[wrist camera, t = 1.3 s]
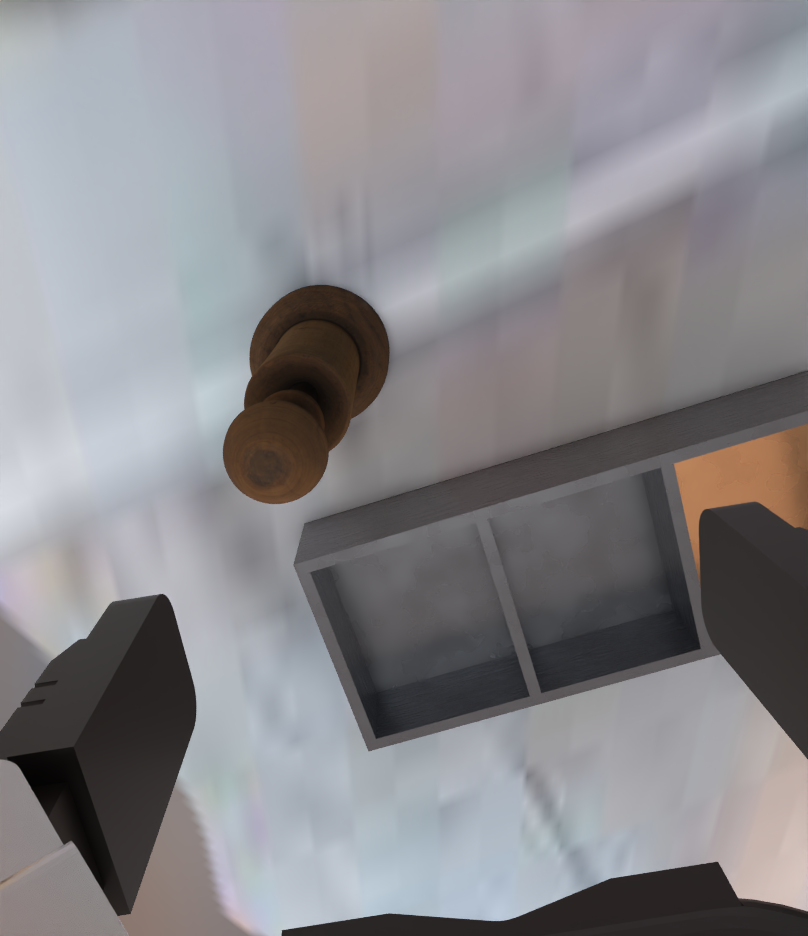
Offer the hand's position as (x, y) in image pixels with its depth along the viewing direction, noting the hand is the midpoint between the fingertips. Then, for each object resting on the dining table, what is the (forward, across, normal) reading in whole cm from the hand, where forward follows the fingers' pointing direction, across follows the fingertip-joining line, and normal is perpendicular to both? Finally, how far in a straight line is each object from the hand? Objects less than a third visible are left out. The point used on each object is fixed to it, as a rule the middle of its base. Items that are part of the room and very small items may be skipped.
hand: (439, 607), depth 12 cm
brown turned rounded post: (+28, +3, 0) cm, 28 cm away
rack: (+28, -8, +12) cm, 31 cm away
